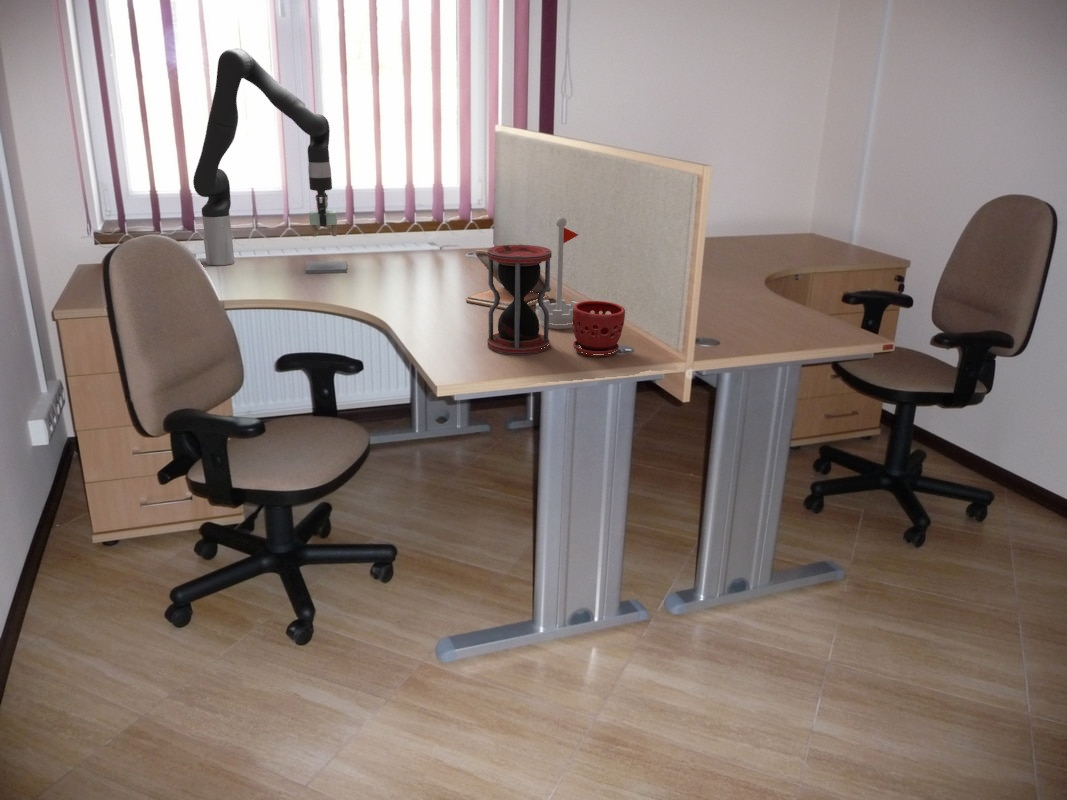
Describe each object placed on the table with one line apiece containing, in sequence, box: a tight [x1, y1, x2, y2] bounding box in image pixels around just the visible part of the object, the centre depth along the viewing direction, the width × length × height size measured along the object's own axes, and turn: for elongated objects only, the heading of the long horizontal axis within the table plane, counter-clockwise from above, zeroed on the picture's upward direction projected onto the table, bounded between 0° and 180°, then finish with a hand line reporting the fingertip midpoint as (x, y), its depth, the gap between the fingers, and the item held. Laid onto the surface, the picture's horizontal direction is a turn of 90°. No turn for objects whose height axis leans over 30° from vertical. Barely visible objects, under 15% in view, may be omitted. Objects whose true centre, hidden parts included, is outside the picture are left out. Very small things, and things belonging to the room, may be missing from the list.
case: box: [465, 249, 552, 311], centre depth 265 cm, size 20×21×16 cm
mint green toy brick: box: [308, 210, 338, 237], centre depth 300 cm, size 6×9×8 cm, turn 101°
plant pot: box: [572, 300, 626, 358], centre depth 217 cm, size 13×13×12 cm
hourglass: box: [486, 243, 553, 356], centre depth 218 cm, size 16×16×25 cm
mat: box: [304, 260, 348, 275], centre depth 306 cm, size 14×14×1 cm
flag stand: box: [535, 216, 579, 330], centre depth 238 cm, size 13×13×30 cm
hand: (323, 224), depth 300 cm, fingers closed on mint green toy brick, 6 cm apart
